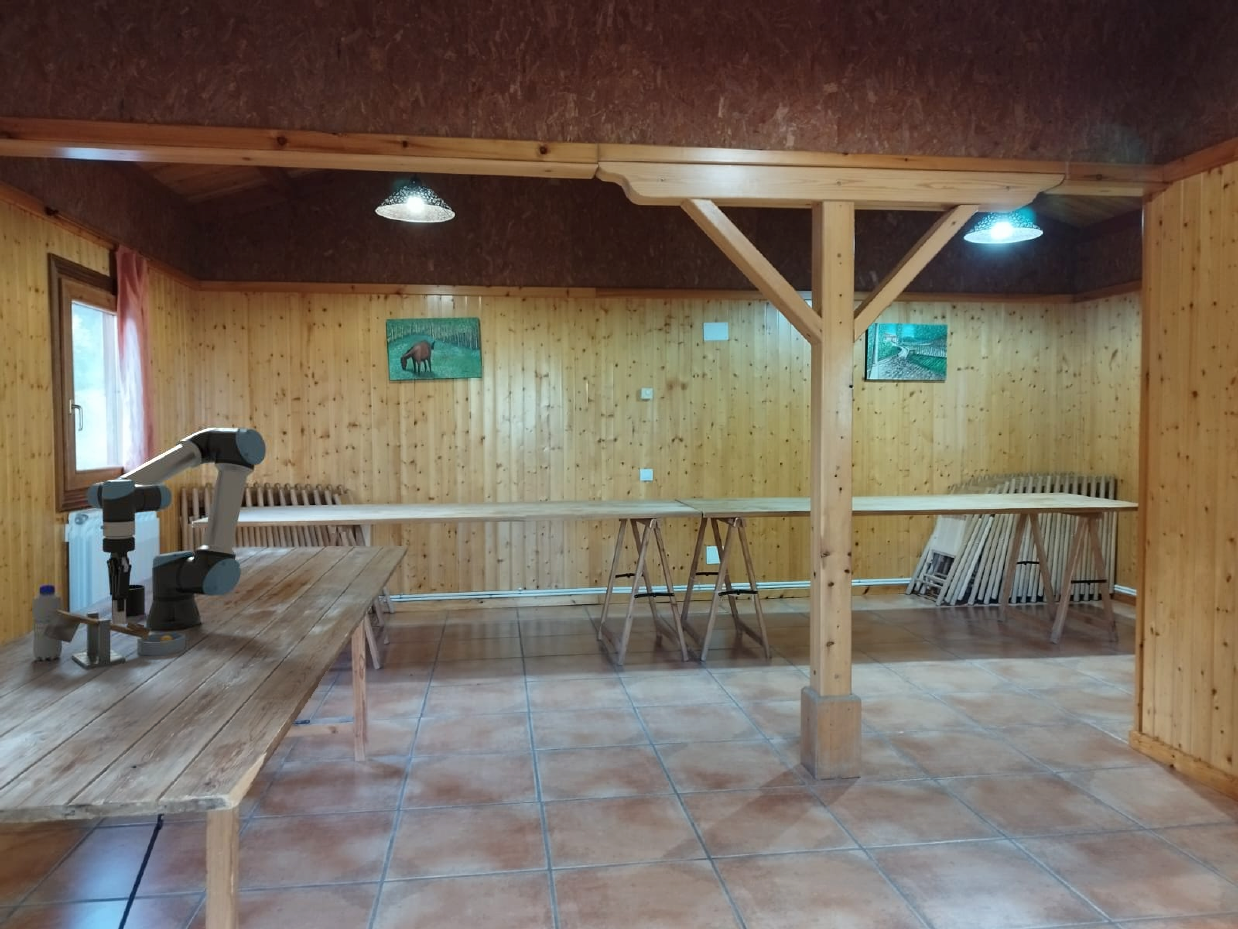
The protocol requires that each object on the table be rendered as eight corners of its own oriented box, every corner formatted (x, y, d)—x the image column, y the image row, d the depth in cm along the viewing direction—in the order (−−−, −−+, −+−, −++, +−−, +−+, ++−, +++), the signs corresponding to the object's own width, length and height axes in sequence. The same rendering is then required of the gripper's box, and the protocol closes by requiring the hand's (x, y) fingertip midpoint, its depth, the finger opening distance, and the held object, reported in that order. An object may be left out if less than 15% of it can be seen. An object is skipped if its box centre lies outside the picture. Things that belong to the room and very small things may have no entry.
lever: (50, 638, 206) (66, 607, 208) (42, 632, 211) (57, 602, 213) (138, 658, 221) (152, 629, 223) (129, 652, 226) (142, 624, 228)
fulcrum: (86, 669, 209) (86, 623, 209) (71, 658, 219) (71, 614, 218) (125, 662, 216) (125, 618, 215) (109, 652, 225) (109, 609, 225)
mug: (150, 608, 278) (150, 582, 278) (140, 616, 266) (140, 589, 266) (119, 610, 275) (119, 583, 275) (107, 618, 264) (107, 590, 263)
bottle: (27, 662, 214) (27, 587, 213) (38, 655, 220) (38, 582, 219) (57, 661, 215) (56, 586, 215) (66, 654, 222) (66, 582, 221)
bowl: (146, 657, 221) (146, 645, 220) (132, 649, 228) (132, 637, 228) (190, 650, 229) (190, 638, 229) (176, 642, 237) (176, 630, 237)
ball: (170, 636, 232) (158, 637, 230) (174, 634, 230) (162, 635, 228) (170, 647, 231) (158, 648, 229) (174, 645, 229) (162, 646, 227)
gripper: (95, 535, 221) (96, 620, 222) (110, 540, 212) (110, 629, 213) (126, 533, 227) (127, 616, 228) (142, 538, 218) (142, 625, 219)
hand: (119, 622), depth 221 cm, fingers closed
